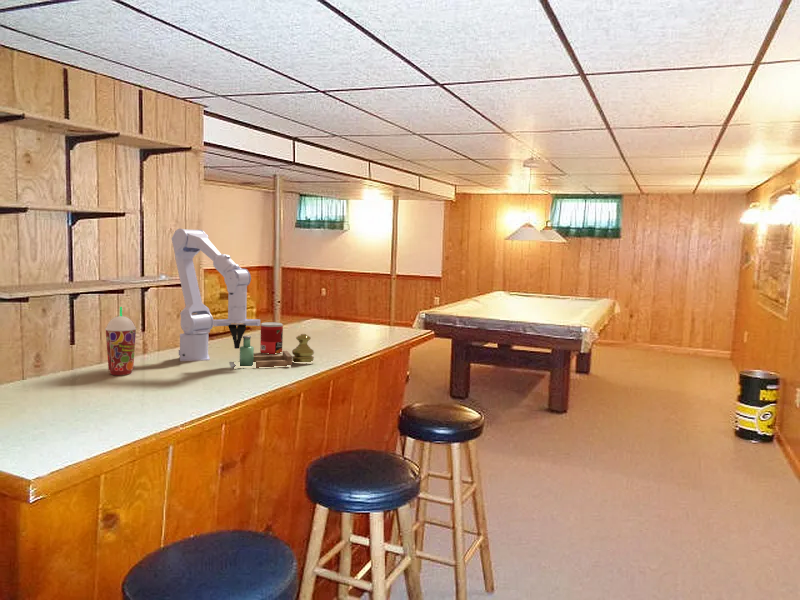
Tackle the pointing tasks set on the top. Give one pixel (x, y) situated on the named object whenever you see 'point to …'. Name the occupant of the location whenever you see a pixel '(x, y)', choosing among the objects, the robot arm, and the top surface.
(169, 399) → the top surface
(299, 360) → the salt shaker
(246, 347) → the bottle
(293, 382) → the top surface
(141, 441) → the top surface
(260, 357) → the cradle
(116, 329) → the smoothie
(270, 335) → the canned food
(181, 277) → the robot arm
